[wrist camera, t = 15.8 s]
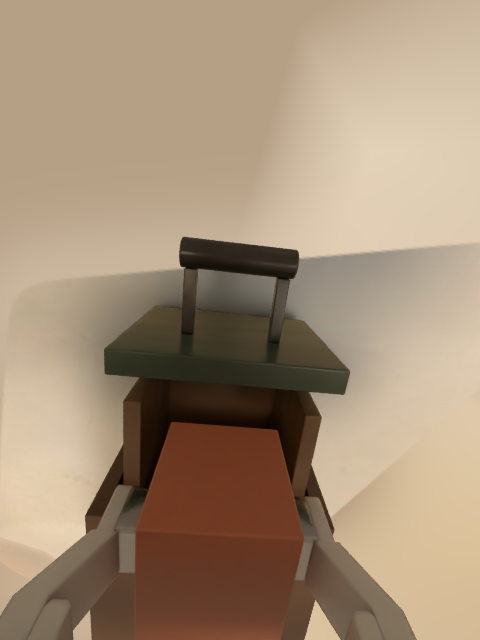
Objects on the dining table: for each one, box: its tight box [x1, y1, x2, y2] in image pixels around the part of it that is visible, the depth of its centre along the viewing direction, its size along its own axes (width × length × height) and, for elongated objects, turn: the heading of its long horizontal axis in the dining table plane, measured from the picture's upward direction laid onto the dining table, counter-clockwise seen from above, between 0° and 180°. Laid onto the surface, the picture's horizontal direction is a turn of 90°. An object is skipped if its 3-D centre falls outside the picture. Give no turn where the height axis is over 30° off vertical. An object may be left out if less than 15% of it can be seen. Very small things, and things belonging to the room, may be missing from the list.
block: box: [134, 422, 304, 640], centre depth 10 cm, size 4×4×4 cm
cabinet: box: [85, 446, 334, 640], centre depth 19 cm, size 14×12×10 cm
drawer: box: [104, 237, 350, 496], centre depth 16 cm, size 17×10×8 cm, turn 174°
